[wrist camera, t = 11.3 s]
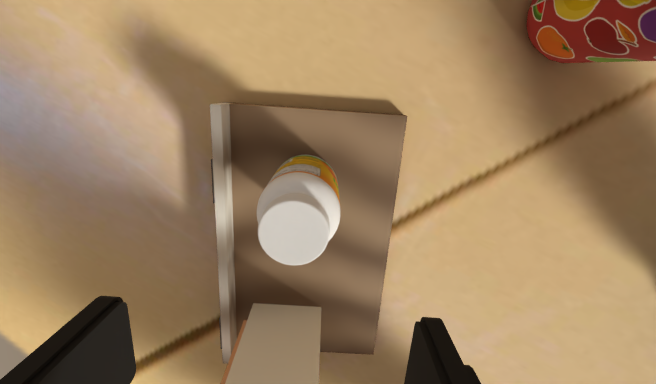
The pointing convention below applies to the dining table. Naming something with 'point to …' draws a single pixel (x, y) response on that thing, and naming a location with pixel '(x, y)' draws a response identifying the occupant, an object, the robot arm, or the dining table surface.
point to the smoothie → (593, 30)
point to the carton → (277, 346)
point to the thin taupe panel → (346, 244)
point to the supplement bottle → (299, 210)
